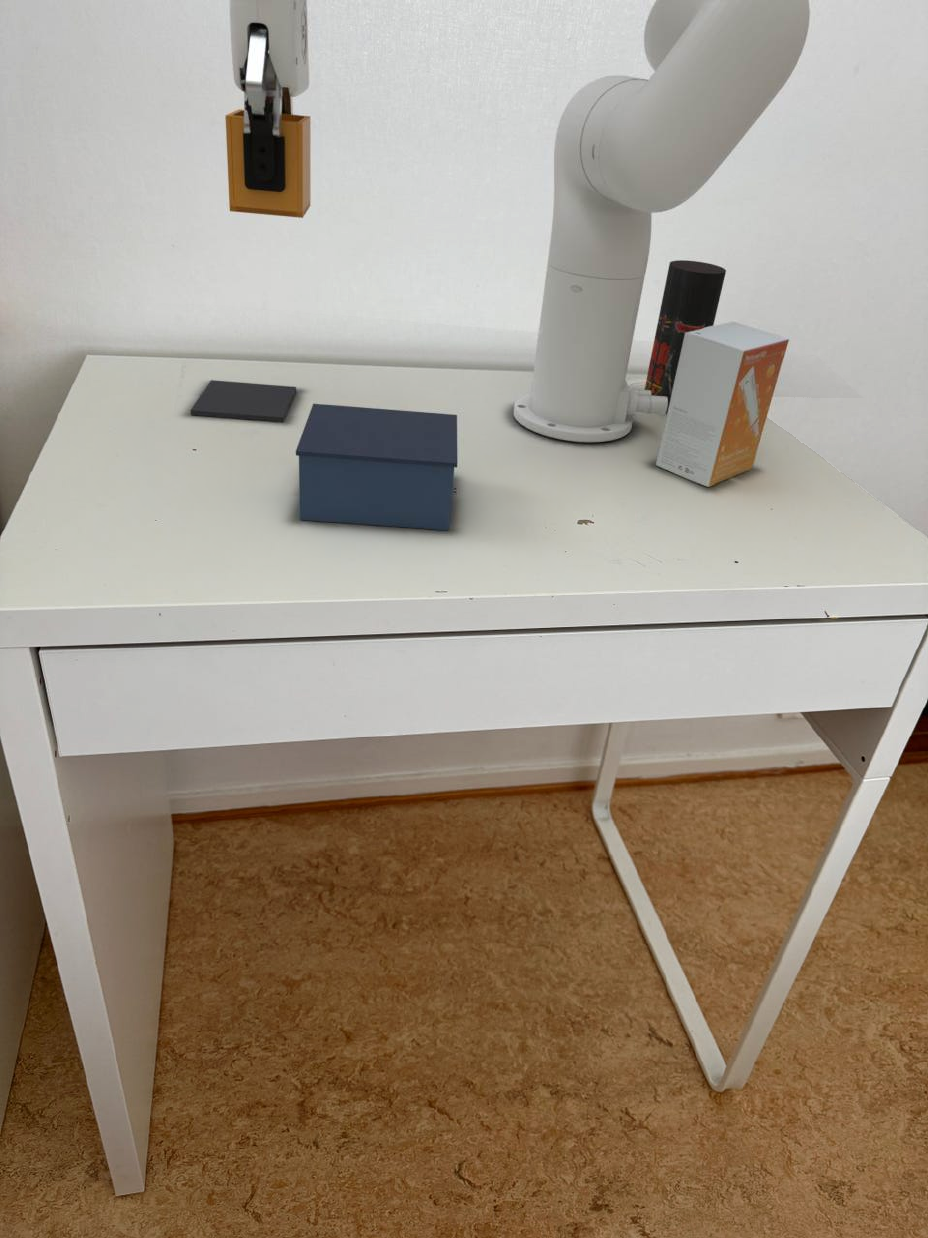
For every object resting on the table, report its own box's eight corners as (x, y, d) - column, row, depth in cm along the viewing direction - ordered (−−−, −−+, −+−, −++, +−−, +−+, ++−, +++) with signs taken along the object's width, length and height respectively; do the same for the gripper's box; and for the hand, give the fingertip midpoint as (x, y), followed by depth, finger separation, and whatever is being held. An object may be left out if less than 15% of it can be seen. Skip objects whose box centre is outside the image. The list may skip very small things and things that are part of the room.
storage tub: (451, 478, 82) (457, 414, 79) (451, 532, 73) (457, 462, 70) (313, 467, 82) (313, 403, 78) (296, 520, 73) (295, 450, 70)
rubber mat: (296, 391, 97) (296, 386, 97) (283, 422, 90) (283, 417, 90) (211, 384, 97) (210, 379, 97) (190, 414, 89) (190, 410, 89)
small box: (708, 489, 85) (744, 350, 78) (653, 465, 89) (682, 330, 81) (754, 469, 90) (791, 337, 83) (700, 448, 94) (731, 319, 86)
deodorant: (655, 391, 108) (683, 257, 100) (702, 404, 105) (734, 268, 97) (633, 402, 103) (660, 264, 95) (681, 417, 101) (713, 276, 93)
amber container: (310, 205, 81) (310, 116, 77) (302, 217, 76) (302, 122, 72) (241, 199, 80) (238, 108, 76) (229, 211, 75) (225, 114, 71)
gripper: (303, -90, 60) (304, 205, 70) (327, -68, 75) (325, 173, 84) (188, -104, 60) (205, 195, 69) (234, -79, 74) (243, 166, 84)
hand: (271, 181), depth 77 cm, fingers closed on amber container, 6 cm apart
